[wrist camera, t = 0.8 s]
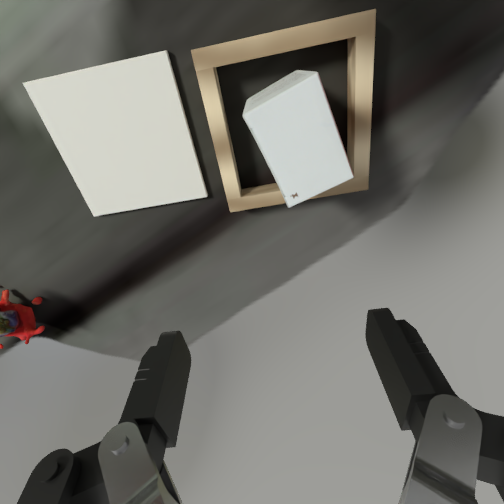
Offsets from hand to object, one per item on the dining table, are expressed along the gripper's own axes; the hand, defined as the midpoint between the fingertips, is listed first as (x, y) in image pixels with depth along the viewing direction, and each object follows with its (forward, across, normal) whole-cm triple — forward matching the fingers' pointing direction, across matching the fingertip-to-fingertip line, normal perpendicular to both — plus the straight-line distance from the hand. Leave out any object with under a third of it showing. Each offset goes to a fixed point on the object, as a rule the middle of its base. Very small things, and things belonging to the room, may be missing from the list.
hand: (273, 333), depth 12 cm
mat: (+23, +14, -4) cm, 27 cm away
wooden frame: (+23, -4, -4) cm, 24 cm away
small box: (+24, -4, -4) cm, 24 cm away
